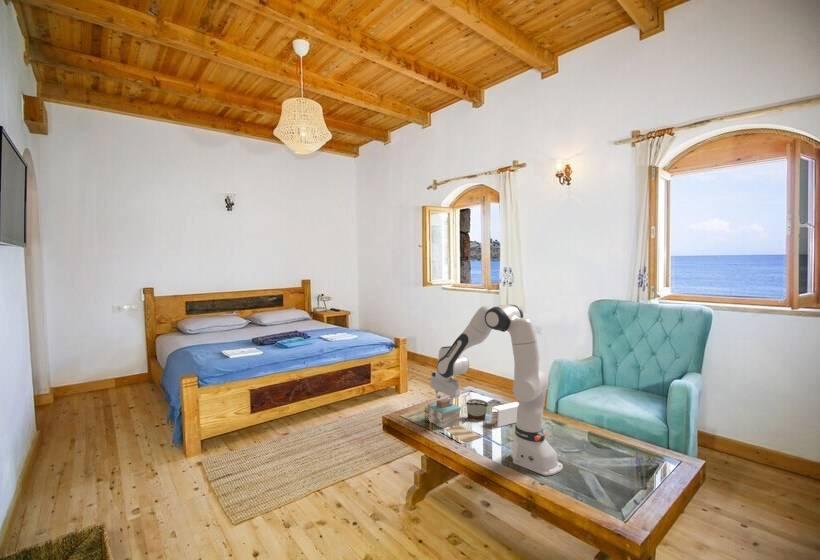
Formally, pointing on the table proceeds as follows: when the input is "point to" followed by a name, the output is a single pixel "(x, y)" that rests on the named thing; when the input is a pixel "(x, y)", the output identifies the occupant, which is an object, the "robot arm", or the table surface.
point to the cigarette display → (505, 414)
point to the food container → (476, 409)
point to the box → (444, 418)
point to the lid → (444, 406)
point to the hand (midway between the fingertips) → (444, 400)
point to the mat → (463, 434)
